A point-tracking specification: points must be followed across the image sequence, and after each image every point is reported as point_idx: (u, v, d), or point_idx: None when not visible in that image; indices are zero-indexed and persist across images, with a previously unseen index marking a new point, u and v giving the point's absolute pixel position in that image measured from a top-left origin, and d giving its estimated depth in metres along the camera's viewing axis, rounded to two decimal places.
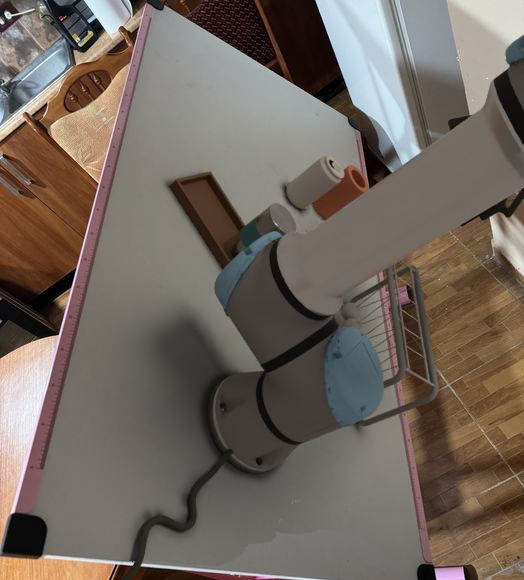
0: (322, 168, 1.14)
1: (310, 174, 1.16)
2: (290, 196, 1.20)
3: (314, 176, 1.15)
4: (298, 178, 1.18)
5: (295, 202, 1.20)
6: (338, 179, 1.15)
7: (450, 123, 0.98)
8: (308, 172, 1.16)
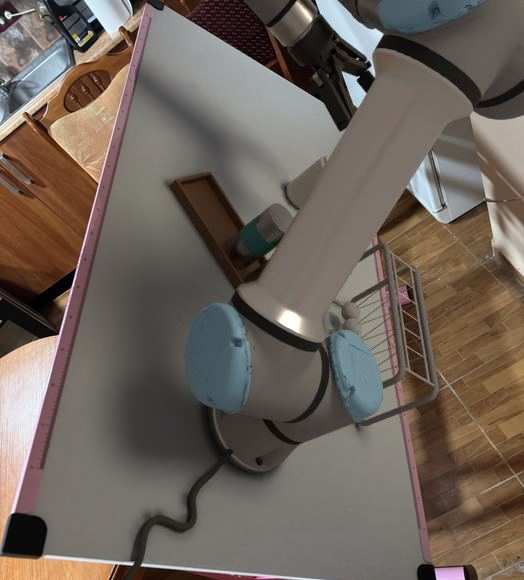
0: (322, 168, 1.14)
1: (310, 174, 1.16)
2: (290, 196, 1.20)
3: (314, 176, 1.15)
4: (298, 178, 1.18)
5: (295, 202, 1.20)
6: None
7: None
8: (308, 172, 1.16)
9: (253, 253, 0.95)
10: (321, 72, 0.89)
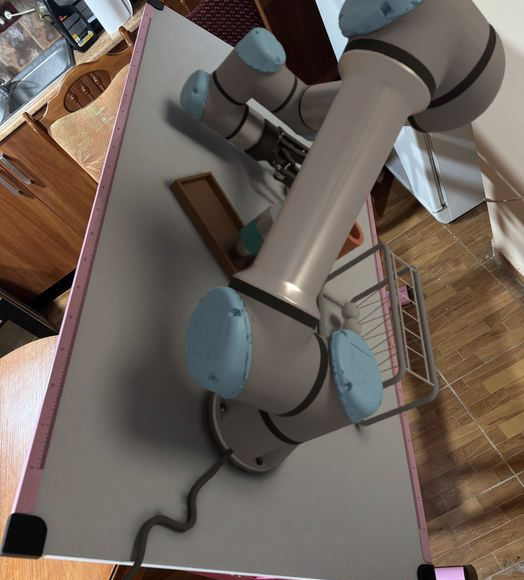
0: None
1: None
2: None
3: None
4: None
5: None
6: None
7: None
8: None
9: (253, 253, 0.95)
10: (283, 171, 1.08)
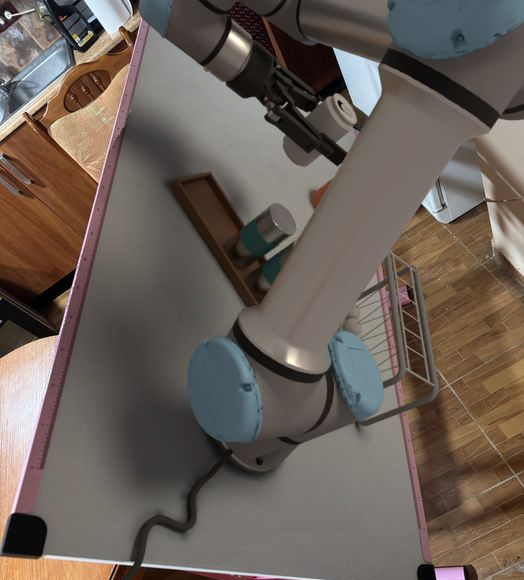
0: (328, 110, 0.88)
1: (313, 120, 0.90)
2: (287, 149, 0.94)
3: (318, 121, 0.90)
4: None
5: (294, 157, 0.94)
6: (349, 125, 0.90)
7: (318, 141, 0.88)
8: (310, 117, 0.91)
9: (253, 253, 0.95)
10: (277, 109, 0.82)
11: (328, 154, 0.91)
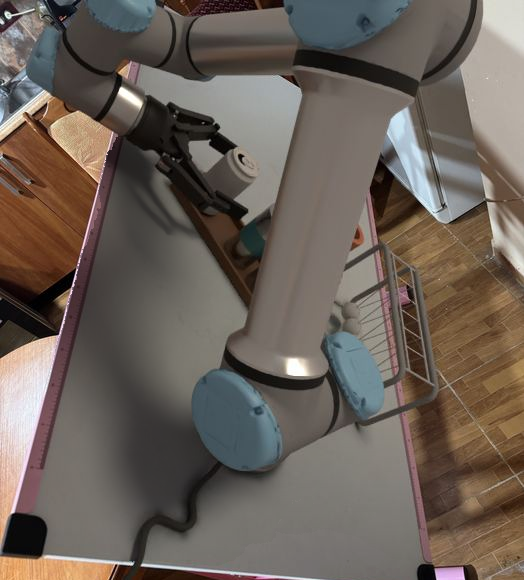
0: (228, 164, 0.90)
1: (216, 172, 0.92)
2: None
3: (220, 174, 0.91)
4: None
5: None
6: (250, 178, 0.92)
7: (210, 200, 0.86)
8: (213, 170, 0.93)
9: (253, 253, 0.95)
10: (165, 158, 0.83)
11: (224, 211, 0.90)
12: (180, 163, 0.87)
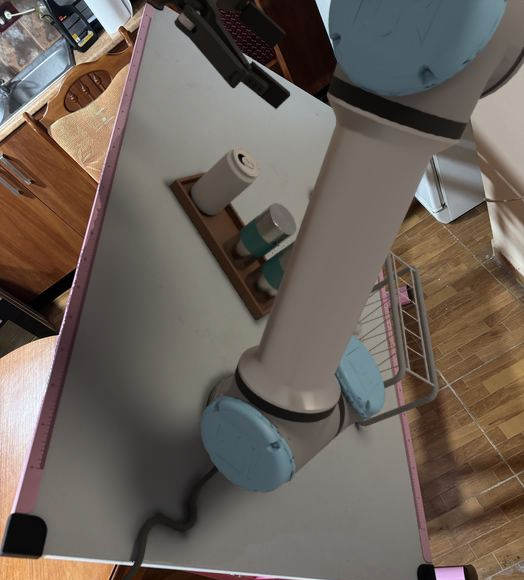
0: (228, 164, 0.90)
1: (216, 172, 0.92)
2: (194, 199, 0.96)
3: (220, 174, 0.91)
4: (203, 177, 0.95)
5: (201, 206, 0.96)
6: (250, 178, 0.92)
7: (245, 70, 0.67)
8: (213, 170, 0.93)
9: (253, 253, 0.95)
10: (188, 9, 0.63)
11: (261, 91, 0.71)
12: None
